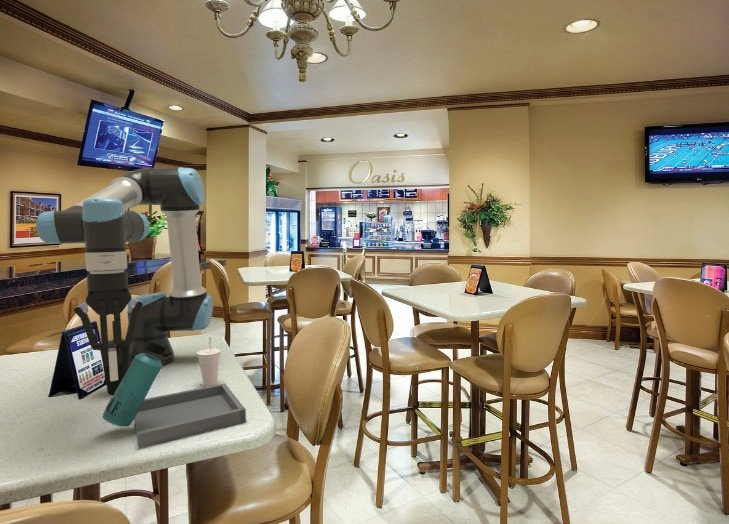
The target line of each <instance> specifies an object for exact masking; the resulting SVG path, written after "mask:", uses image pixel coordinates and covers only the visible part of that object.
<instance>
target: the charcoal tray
mask: <svg viewBox="0 0 729 524" xmlns="http://www.w3.org/2000/svg"><path fill="white" fill-rule="evenodd" d="M144 400H145V401H144V402H143V403H142V405H141V406H140V407H141V408H139V410H138V411H139V412H137V413H138V414H137V415H136V417H135V418H134V423H135V430H136V437H137V443H138V449H143V448H145V447H147V448H148V447H150V446H154V445H159V444H162V443H167V442H170V441H174V440H178V439H182V438H186V437H191V436H195V435H199V434H203V433H206V432H210V431H214V430H215V429H216V430H220V429H223V427H224V428H227V426H228V427H231V426H235V425H240V424H244V423H247V413H246V408H245V407H244V405H243V404H242V403H241V402H240V400H239V399H238V398H237V397H236V395H235V393H233V391H232V390H231V389H230V387H228V385H227V384H226V383H224V382H223V383H219V384H216V385H213V386H208V387H206V386H204V387H199V388H193V389H188V390H184V391H179V392H174V393H168V394H164V395H158V396H154V397H153V396H152V397H146V399H144Z"/></svg>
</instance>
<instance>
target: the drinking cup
mask: <svg viewBox="0 0 729 524" xmlns="http://www.w3.org/2000/svg"><path fill="white" fill-rule="evenodd" d="M111 322H112V323H111V325H112V338H113V339H108V347H109V349H111V348H116V341H115V326H114V320H112V321H111ZM123 340H125V339H123V338H122V341H123ZM129 352H130V345H129V346H126V347H124V348H123V363H121V364H117V368H118V380H116V381H110V370H109V365H108V366H104V365H103V358H102V352H101V351H100V356H101V361H102V368H103V373H104V379H105V380H104V381H105V384H106V390H107V391H106V392H107V395H108V396H113V395H114V394H115V392H116V390H117V388H118V386H119V385H120V383H121V380H122V379H123V378H124V377H123V376H124V374H126V371H127V370H128V369H129Z"/></svg>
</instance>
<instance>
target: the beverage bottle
mask: <svg viewBox="0 0 729 524" xmlns="http://www.w3.org/2000/svg"><path fill="white" fill-rule="evenodd" d="M146 349H147V350H149V351H151V352H153V353H156V354H159V355H163V354H164V352H165V350H166V346H165V345H163V344H161V343H159V342H157V341H153V340H151V341H150V342H149V343H148V345H147V346H146ZM162 368H163V366H162V363H161V361H160V359H158V358H157V357H154V356H152V355H149V354H146V353H141V354H139V355H136V356H135V358H134V360H133V362H132V364H131V365H130V367H129V369H128V370H127V371H126V374H124V376H123V377H124V378H123V379H122V380H121V383H120V385H119V386H118V388H117V390H116V392H115V394H114V395H112V396H111V398H110V399H109V401H108V403H107V405H106V406H105V409H103V410H104V411H103V413H102V420H104V421H105V422H107V423H109V424H111V425H113V426H117V427H122V428H123V427H124V428H127V427H130V426H131V425H132V424H133V422H134V420H135V417H136V415H137V414H138V413H137V412H139V411H138V410H139V408H141V407H140V406H141V405H142V403H143V402H144V401H145V400H144V399H147V396H148V394H149V391H150V390H151V388H152V386H153V383H154V382H155V380H156V378H157V376H158V375H159V373H160V371H161V369H162Z"/></svg>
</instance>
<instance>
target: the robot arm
mask: <svg viewBox="0 0 729 524" xmlns="http://www.w3.org/2000/svg"><path fill="white" fill-rule="evenodd" d="M205 196H206V193H205V188H204V183H203V181H202V178H201V176H200V174H199V172H198V171H197V169H194V168H192V167H191V168H190V167H145V168H144V167H143V168H139V169H135V170H132V171H129V172H126V173H124V174H121V175H118V177H116V178H114V179H112V180H110V182H109V184H108V185H107V187H105V188H103V189H101V190H99V191H97V192H96V193H94V194H91V195H90V196H88V197H86V198H84V199H83V200H81V201H79V202H77V203H75V204H74V205H71V206H70V207H68V208H66V209H63V210H60V211H59V210H50V211H44V212H41V213H40V214H39V215H38V216H37V219H36V221H35V230H36V232H37V235H38V237H39V239H40V240H41V241H42V242H44V243H46V244H59V245H66V244H67V245H68V244H69V245H70V244H84V247H85V249H84V250H85V251H84V253H85V254H84V256H85V267H86V268H85V269H86V271H87V272H89V273H87V275H86V282H87V295H86V298H85V301H84V302H82V303H81V304H79V305H76V306H75V307H74V309H73V311H74V313H75V314H76V315H77V316H78V317H79V319H80V321H81V323H82V326H83V329H84V331H85V334H86V337H87V340H88V342H89V344H90V347H91V350H93V351H100V353H101V352H102V357H101V359H102V358H103V363H102V366H103V365H104V366H108V365H109V370H110V381H116V380H118V368H117V364H121V363H123V348H124V347H126V346H129V345H130V352H129V367H130V365H131V364H132V362H133V360H134V358H135V356H136V355H139V354H141V353H146V354H149V355H152V356H154V357H157V358H158V359H160V361H161V363H162V367H163V366H167V365H168V363H169V364H171V363H172V362H174V361H175V351H174V348H173V346H172V345H171V341H170V340H169V337H168V336H169V335H168V333H169V332H186V331H188V332H191V331H192V332H195V331H204V330H206V329H207V328H208V327H209V325H210V324H211V320H212V318H213V312H214V299H213V296H211V295H209V294H207V289H206V288H205V287H204V286H202V282H201V270H200V269H201V267H200V259H199V258H200V257H199V246H198V244H199V243H198V234H197V233H198V232H197V222H196V221H197V220H196V215H197V214H198V213H199V211H200V210H201V209H200V206H201V205H203V204H204V203H205ZM144 205H145V206H160V208H159V209H160V212H161V213H162V214H164V215H165V217H166V225H167V233H168V234H167V235H168V244H169V245H168V246H169V253H170V254H169V255H170V265H171V275H172V285H173V286H172V287H173V288H172V289H171V291H170V292H169V293H168V296H167V294H166V292H154V293H148V294H142V295H137V296H134V297H133V296H132V294H131V293H130V290H129V276H128V272H127V271H125V270H127V269H128V260H127V258H128V257H127V256H128V255H127V246H126V245H127V243H133V244H134V243H137V242H140V241H143V240H144V239H145V238H146V237H147V235H148V234H149V232H150V222H149V220H148V218H147V217H146V215H144V214H142V213H140V212H138V211H135V210H133V208H136V207H138V206H144ZM127 209H132V210H127ZM88 307H89V308H91V309H92V310H93V312H95V313H96V315H98V316H99V324H100V340H101V341H100V342H99V341H98V338H97V336H96V333H95V330H94V328H93V326H92V323H91V322H92V321H91V320H90V317H89V314H88V313H89V308H88ZM126 307H127V312H126V313H127V322H128V323H127V330H126V334H125V339H124V340H123V341H122V339H123V336H122V322H121V321H122V320H121V313H123V311H124V310H125V308H126ZM108 315H113V321H114V326H115V341H116V348H111V349H109V347H108V341H109V334H108V333H109V331H108ZM151 340H153V341H157V342H159V343H161V344H163V345H165V346H166V350H165V352H164V354H163V355H159V354H156V353H153V352H151V351H149V350H147V349H146V346H147V345H148V343H149V342H150V341H151ZM173 360H174V361H173ZM170 362H171V363H170Z"/></svg>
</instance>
